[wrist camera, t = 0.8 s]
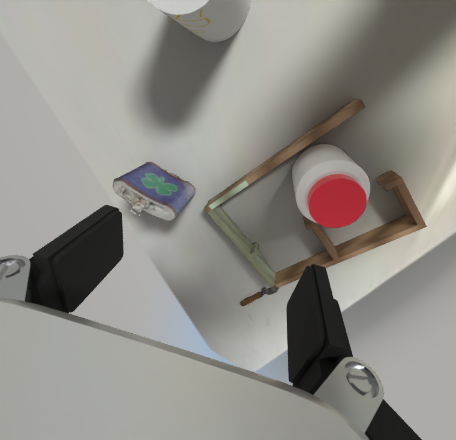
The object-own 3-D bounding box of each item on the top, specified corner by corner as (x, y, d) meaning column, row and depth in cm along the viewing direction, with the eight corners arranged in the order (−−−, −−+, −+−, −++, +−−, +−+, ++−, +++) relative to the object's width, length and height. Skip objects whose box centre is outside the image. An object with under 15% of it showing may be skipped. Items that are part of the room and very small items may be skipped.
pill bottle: (292, 145, 32) (299, 168, 23) (354, 141, 31) (388, 165, 21) (290, 197, 36) (295, 236, 26) (345, 196, 34) (371, 237, 25)
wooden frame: (354, 99, 28) (362, 100, 26) (415, 216, 34) (426, 226, 31) (208, 200, 39) (203, 209, 36) (273, 277, 44) (272, 289, 41)
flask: (198, 186, 38) (172, 218, 29) (191, 200, 39) (164, 235, 30) (146, 157, 37) (103, 180, 28) (141, 173, 38) (98, 199, 29)
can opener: (243, 303, 49) (242, 307, 48) (237, 296, 48) (236, 300, 47) (281, 289, 45) (281, 293, 44) (275, 281, 45) (275, 285, 44)
